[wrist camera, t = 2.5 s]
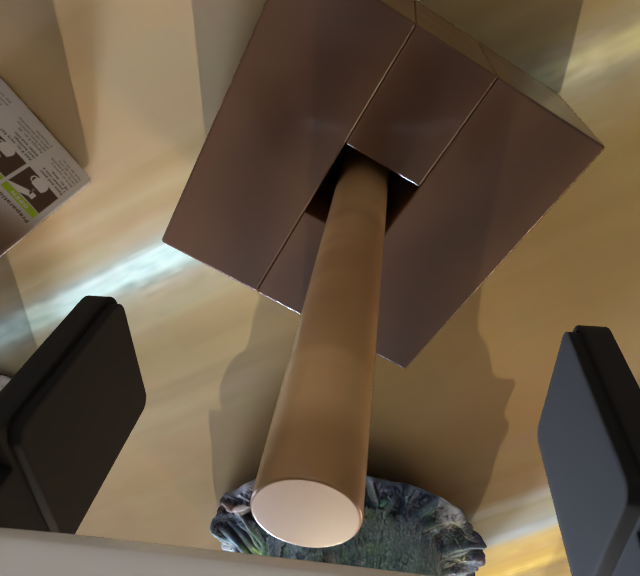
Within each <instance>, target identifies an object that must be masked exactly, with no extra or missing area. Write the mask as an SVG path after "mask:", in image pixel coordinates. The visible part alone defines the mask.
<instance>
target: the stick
mask: <svg viewBox="0 0 640 576" xmlns="http://www.w3.org/2000/svg"><path fill="white" fill-rule="evenodd" d="M388 182H389V169H388V168H387V167H385V166H383V165H382V164H380V163H378V162H377V161H375V160H373V159H372V158H370V157H368V156H367V155H365V154H363V153H361V152H360V151H358V150H356V149H355V148H353V147H351V146H350V145H348V144H347V148H346V152H345V155H344V159H343V163H342V166H341V170H340V174H339V177H338V181H337V185H336V188H335V192H334V196H333V199H332V203H331V206H330V210H329V214H328V217H327V221H326V225H325V228H324V232H323V236H322V239H321V243H320V247H319V250H318V254H317V258H316V261H315V265H314V269H313V272H312V276H311V280H310V283H309V287H308V291H307V294H306V298H305V302H304V305H303V309H302V313H301V316H300V320H299V324H298V327H297V331H296V335H295V338H294V342H293V345H292V349H291V353H290V356H289V360H288V364H287V367H286V371H285V375H284V378H283V382H282V386H281V389H280V393H279V397H278V400H277V404H276V408H275V411H274V415H273V419H272V422H271V426H270V430H269V433H268V437H267V441H266V444H265V448H264V452H263V455H262V459H261V463H260V466H259V470H258V473H257V477H256V481H255V484H254V488H253V492H252V495H251V500H250V507H251V511H252V514H253V517H254V518H255V520H256V521H257V523H258V524H259V525H260V526H261V527H262V528H263V529H264V530H265V531H267V532H268V533H269V534H271V535H273V536H274V537H276V538H278V539H280V540H283V541H285V542H288V543H291V544H294V545H299V546H304V547H314V548H319V547H330V546H335V545H339V544H341V543H344V542H346V541H348V540H350V539H351V538H352V537H354V536H355V535H356V534H357V532H358V531H359V529H360V527H361V525H362V523H363V514H364V500H365V487H366V474H367V460H368V447H369V434H370V421H371V407H372V394H373V381H374V367H375V354H376V341H377V328H378V314H379V301H380V288H381V275H382V261H383V248H384V235H385V221H386V208H387V195H388Z"/></svg>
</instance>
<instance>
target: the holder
mask: <svg viewBox="0 0 640 576" xmlns="http://www.w3.org/2000/svg"><path fill="white" fill-rule="evenodd" d="M345 143H347V144H348V145H350V146H351V147H353V148H355V149H356V150H358V151H360V152H361V153H363V154H365V155H367V156H368V157H370V158H372V159H373V160H375V161H377V162H378V163H380V164H382V165H383V166H385V167H387V168H388V169H390V171H389V182H388V195H387V208H386V221H385V235H384V248H383V261H382V275H381V288H380V301H379V314H378V328H377V341H376V354H378V355H380V356H382V357H384V358H385V359H387V360H389V361H391V362H393V363H395V364H397V365H399V366H401V367H403V368H407V367H408V365H409V364H410V363H411V362H412V361H413V360H414V359H415V358H416V357H417V355H418V354H419V353H420V352H421V351H422V350H423V349H424V348H425V347H426V345H427V344H428V343H429V342H430V341H431V340H432V339H433V338H434V337H435V336H436V334H437V333H438V332H439V331H440V330H441V329H442V328H443V327H444V326H445V324H446V323H447V322H448V321H449V320H450V319H451V318H452V317H453V316H454V315H455V313H456V312H457V311H458V310H459V309H460V308H461V307H462V306H463V305H464V303H465V302H466V301H467V300H468V299H469V298H470V297H471V296H472V295H473V293H474V292H475V291H476V290H477V289H478V288H479V287H480V286H481V285H482V284H483V282H484V281H485V280H486V279H487V278H488V277H489V276H490V275H491V274H492V272H493V271H494V270H495V269H496V268H497V267H498V266H499V265H500V264H501V263H502V261H503V260H504V259H505V258H506V257H507V256H508V255H509V254H510V253H511V251H512V250H513V249H514V248H515V247H516V246H517V245H518V244H519V243H520V241H521V240H522V239H523V238H524V237H525V236H526V235H527V234H528V233H529V232H530V230H531V229H532V228H533V227H534V226H535V225H536V224H537V223H538V222H539V220H540V219H541V218H542V217H543V216H544V215H545V214H546V213H547V212H548V211H549V209H550V208H551V207H552V206H553V205H554V204H555V203H556V202H557V201H558V199H559V198H560V197H561V196H562V195H563V194H564V193H565V192H566V191H567V189H568V188H569V187H570V186H571V185H572V184H573V183H574V182H575V181H576V180H577V178H578V177H579V176H580V175H581V174H582V173H583V172H584V171H585V170H586V168H587V167H588V166H589V165H590V164H591V163H592V162H593V161H594V160H595V159H596V157H597V156H598V155H599V154H600V153H601V152H602V151H603V150H604V148H605V147H604V145H603V144H602V143H601V142H600V140H599V139H598V138H597V137H596V136H595V135H594V134H593V133H592V131H591V130H590V129H589V128H588V127H587V126H586V125H585V123H584V122H583V121H582V120H581V119H580V118H579V117H578V116H577V114H576V113H575V112H574V111H573V110H572V109H571V108H570V106H569V105H568V104H567V103H566V102H565V101H564V100H563V98H562V97H561V96H560V95H558V94H557V93H555V92H554V91H552V90H551V89H549V88H548V87H546V86H545V85H543V84H542V83H540V82H539V81H537V80H536V79H534V78H533V77H531V76H530V75H528V74H526V73H525V72H523V71H522V70H520V69H519V68H517V67H516V66H514V65H513V64H511V63H510V62H508V61H507V60H505V59H504V58H502V57H501V56H499V55H498V54H496V53H495V52H493V51H492V50H490V49H489V48H487V47H486V46H484V45H482V44H481V43H479V42H477V41H476V40H475V39H473V38H472V37H470V36H469V35H467V34H466V33H464V32H463V31H461V30H460V29H458V28H457V27H455V26H454V25H452V24H451V23H449V22H448V21H446V20H445V19H443V18H442V17H440V16H439V15H437V14H436V13H434V12H433V11H431V10H429V9H428V8H426V7H425V6H423V5H422V4H420V3H419V2H417V1H414V0H267V1H266V3H265V5H264V8H263V10H262V12H261V15H260V17H259V19H258V21H257V24H256V26H255V28H254V31H253V33H252V35H251V37H250V40H249V42H248V44H247V47H246V49H245V51H244V53H243V56H242V58H241V60H240V62H239V65H238V67H237V69H236V72H235V74H234V76H233V78H232V81H231V83H230V85H229V88H228V90H227V92H226V94H225V97H224V99H223V101H222V104H221V106H220V108H219V110H218V113H217V115H216V117H215V120H214V122H213V124H212V126H211V129H210V131H209V133H208V136H207V138H206V140H205V142H204V145H203V147H202V149H201V152H200V154H199V156H198V158H197V161H196V163H195V165H194V168H193V170H192V172H191V174H190V177H189V179H188V181H187V184H186V186H185V188H184V190H183V193H182V195H181V197H180V200H179V202H178V204H177V206H176V209H175V211H174V213H173V215H172V218H171V220H170V222H169V225H168V227H167V229H166V231H165V234H164V236H163V238H162V241H163V242H164V243H166V244H168V245H170V246H172V247H173V248H175V249H177V250H179V251H181V252H183V253H185V254H187V255H189V256H191V257H193V258H194V259H196V260H198V261H200V262H202V263H204V264H206V265H208V266H210V267H212V268H214V269H215V270H217V271H219V272H221V273H223V274H225V275H227V276H229V277H231V278H233V279H235V280H236V281H238V282H240V283H242V284H244V285H246V286H248V287H250V288H252V289H254V290H257V292H259V293H261V294H263V295H265V296H266V297H268V298H270V299H272V300H274V301H276V302H278V303H280V304H282V305H284V306H286V307H287V308H289V309H291V310H293V311H295V312H297V313H299V314H301V313H302V309H303V305H304V302H305V298H306V294H307V291H308V287H309V283H310V280H311V276H312V272H313V269H314V265H315V261H316V258H317V254H318V250H319V247H320V243H321V239H322V236H323V232H324V228H325V225H326V221H327V217H328V214H329V210H330V206H331V203H332V199H333V196H334V192H335V188H336V185H337V181H338V177H339V174H340V170H341V166H342V163H343V162H341V161H339V160H337V159H336V158H337V156H338V154H339V153H340V151H341V149H342V148H343V146H344V144H345Z"/></svg>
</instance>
